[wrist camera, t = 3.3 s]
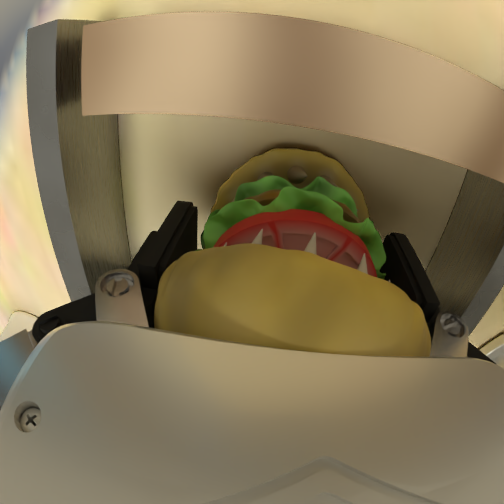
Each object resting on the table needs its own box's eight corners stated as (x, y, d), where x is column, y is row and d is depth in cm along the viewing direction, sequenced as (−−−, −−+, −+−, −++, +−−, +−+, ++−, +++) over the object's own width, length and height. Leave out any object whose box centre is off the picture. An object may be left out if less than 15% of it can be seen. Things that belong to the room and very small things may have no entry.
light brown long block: (464, 86, 10) (532, 108, 6) (450, 142, 12) (510, 186, 7) (148, 31, 10) (83, 25, 6) (144, 93, 12) (82, 115, 8)
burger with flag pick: (397, 196, 13) (513, 445, 4) (309, 291, 17) (312, 514, 8) (259, 101, 12) (129, 362, 2) (185, 226, 15) (83, 462, 6)
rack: (509, 100, 9) (593, 139, 4) (416, 322, 18) (440, 398, 13) (93, 28, 10) (-2, 32, 5) (114, 281, 18) (73, 354, 13)
